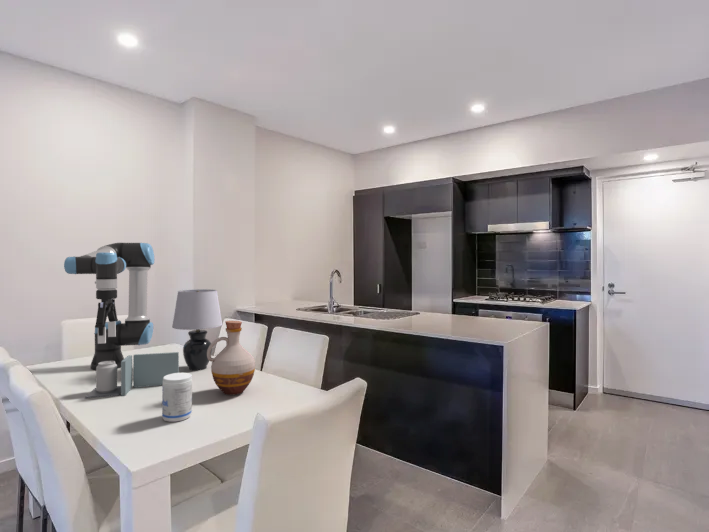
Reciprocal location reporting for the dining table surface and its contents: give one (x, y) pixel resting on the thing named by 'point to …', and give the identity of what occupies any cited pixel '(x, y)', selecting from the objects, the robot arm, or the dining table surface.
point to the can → (106, 376)
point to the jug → (232, 362)
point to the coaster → (96, 394)
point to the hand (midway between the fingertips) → (107, 340)
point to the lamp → (197, 323)
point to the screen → (147, 369)
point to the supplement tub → (177, 397)
